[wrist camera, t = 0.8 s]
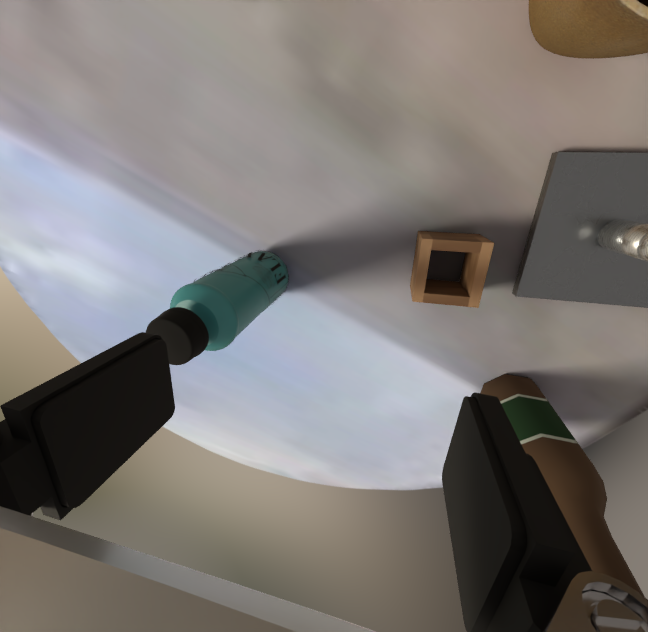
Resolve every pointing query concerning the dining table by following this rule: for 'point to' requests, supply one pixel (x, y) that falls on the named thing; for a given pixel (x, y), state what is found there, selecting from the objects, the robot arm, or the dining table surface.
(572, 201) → the post block
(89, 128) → the dining table surface
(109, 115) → the dining table surface
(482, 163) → the dining table surface
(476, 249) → the walnut collar
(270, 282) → the beverage bottle
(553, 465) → the beer bottle
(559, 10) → the plant pot
